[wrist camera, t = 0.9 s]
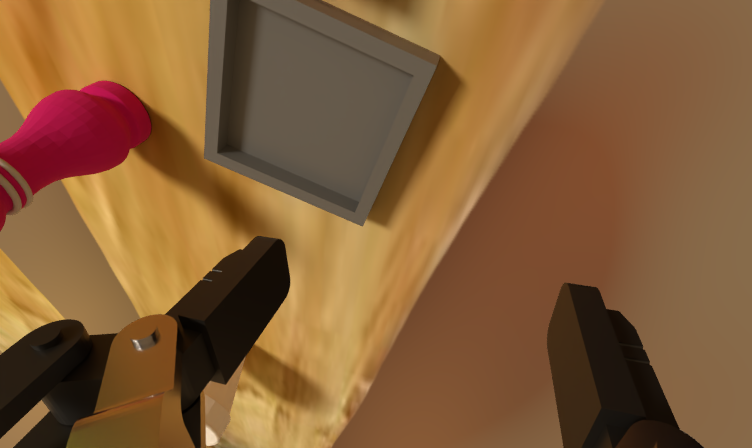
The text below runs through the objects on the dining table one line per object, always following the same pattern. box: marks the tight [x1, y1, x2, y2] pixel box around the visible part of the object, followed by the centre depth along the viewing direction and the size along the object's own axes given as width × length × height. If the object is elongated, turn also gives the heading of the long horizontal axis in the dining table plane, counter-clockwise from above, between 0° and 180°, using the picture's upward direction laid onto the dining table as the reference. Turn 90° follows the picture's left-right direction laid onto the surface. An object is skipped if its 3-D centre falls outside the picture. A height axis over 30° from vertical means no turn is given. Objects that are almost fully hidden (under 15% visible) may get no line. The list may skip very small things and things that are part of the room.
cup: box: [203, 356, 246, 446], centre depth 56 cm, size 12×12×14 cm
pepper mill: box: [0, 81, 151, 231], centre depth 29 cm, size 7×7×20 cm
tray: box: [204, 0, 440, 226], centre depth 31 cm, size 16×16×2 cm
